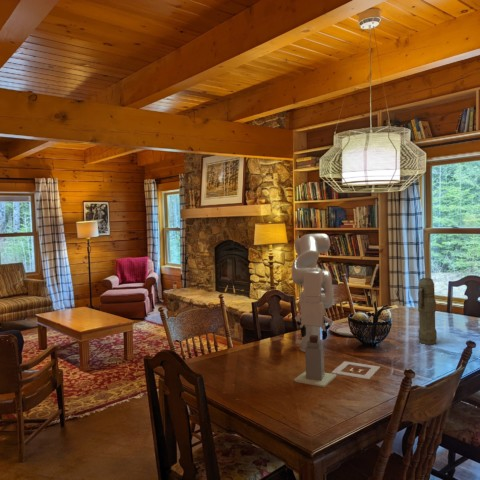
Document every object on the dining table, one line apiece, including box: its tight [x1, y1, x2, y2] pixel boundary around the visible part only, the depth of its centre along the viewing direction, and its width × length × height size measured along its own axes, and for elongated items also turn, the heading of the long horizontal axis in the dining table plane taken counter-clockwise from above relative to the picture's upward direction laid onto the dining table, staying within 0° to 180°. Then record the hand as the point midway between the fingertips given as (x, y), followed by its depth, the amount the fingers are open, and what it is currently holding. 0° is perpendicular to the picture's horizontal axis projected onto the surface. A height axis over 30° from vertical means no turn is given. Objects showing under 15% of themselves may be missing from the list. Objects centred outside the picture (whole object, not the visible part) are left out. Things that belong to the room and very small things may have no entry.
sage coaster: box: [293, 370, 338, 388], centre depth 190 cm, size 14×14×1 cm
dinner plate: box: [328, 322, 354, 337], centre depth 262 cm, size 27×27×3 cm
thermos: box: [417, 277, 438, 346], centre depth 234 cm, size 9×12×35 cm
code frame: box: [331, 361, 381, 380], centre depth 198 cm, size 17×17×1 cm
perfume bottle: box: [304, 335, 325, 380], centre depth 189 cm, size 7×7×18 cm
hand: (314, 337), depth 190 cm, fingers open, 9 cm apart
